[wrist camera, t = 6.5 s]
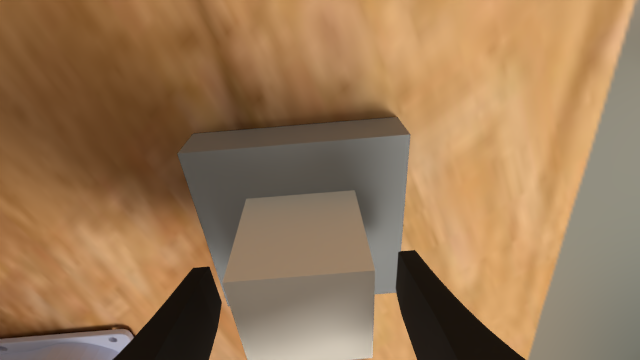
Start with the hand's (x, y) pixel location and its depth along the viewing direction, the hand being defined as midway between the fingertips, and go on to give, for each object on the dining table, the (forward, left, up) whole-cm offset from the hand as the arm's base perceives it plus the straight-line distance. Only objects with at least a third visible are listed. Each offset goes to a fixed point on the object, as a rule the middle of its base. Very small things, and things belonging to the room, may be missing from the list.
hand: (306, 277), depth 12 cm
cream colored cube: (0, 0, -3) cm, 3 cm away
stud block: (0, 0, -5) cm, 5 cm away
